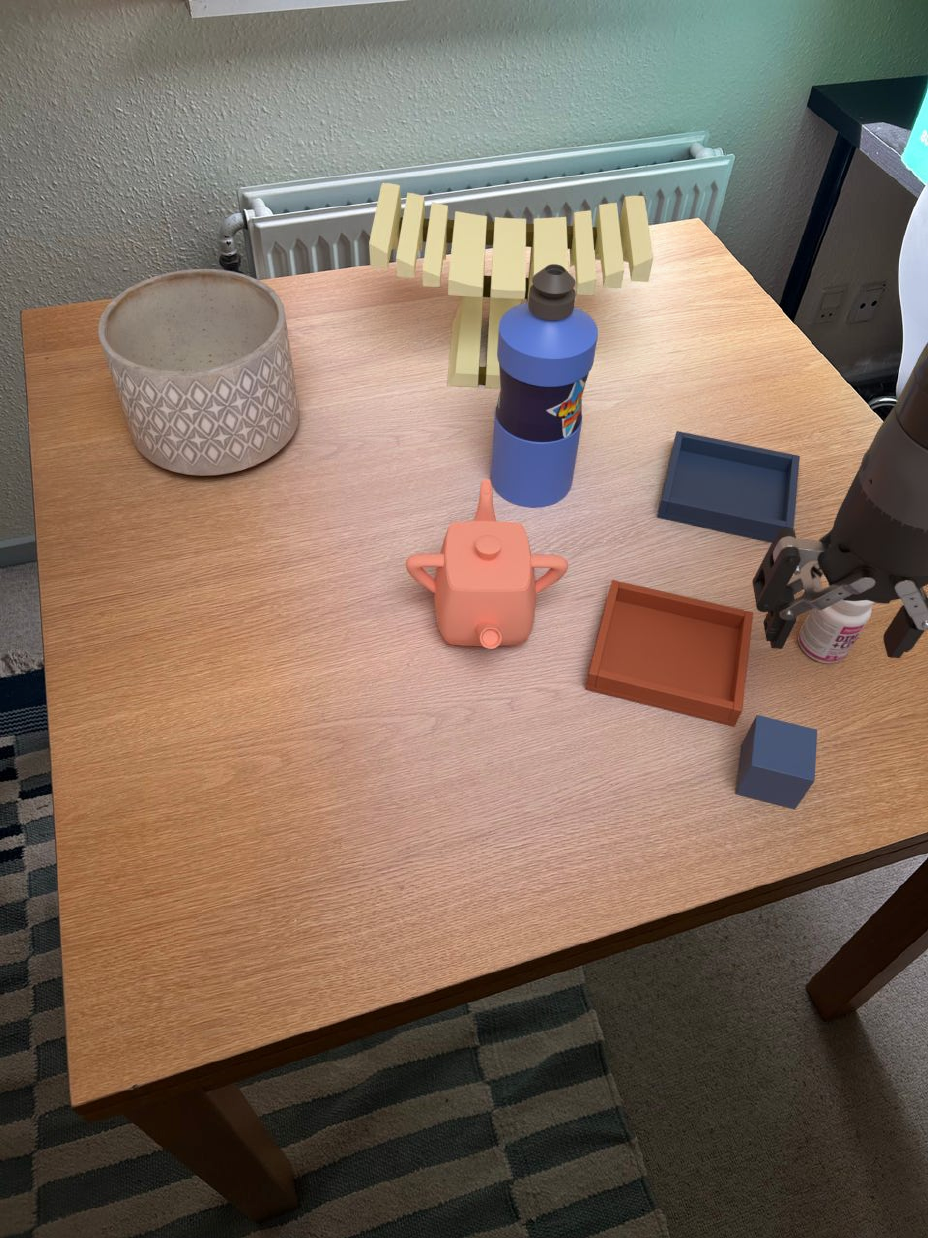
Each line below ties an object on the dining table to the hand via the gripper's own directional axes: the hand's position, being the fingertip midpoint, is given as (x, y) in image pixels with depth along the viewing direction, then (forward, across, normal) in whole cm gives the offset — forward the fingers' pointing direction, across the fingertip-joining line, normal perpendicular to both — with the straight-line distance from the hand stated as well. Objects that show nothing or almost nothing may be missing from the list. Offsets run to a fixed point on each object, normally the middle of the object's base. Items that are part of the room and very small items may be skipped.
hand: (832, 644), depth 68 cm
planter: (+16, -58, +37) cm, 70 cm away
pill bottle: (+16, +7, +12) cm, 21 cm away
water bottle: (+16, -22, +33) cm, 42 cm away
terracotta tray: (+16, -8, +9) cm, 20 cm away
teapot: (+16, -26, +13) cm, 33 cm away
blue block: (+16, -1, -2) cm, 16 cm away
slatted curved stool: (+16, -26, +56) cm, 64 cm away
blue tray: (+16, 0, +32) cm, 36 cm away
